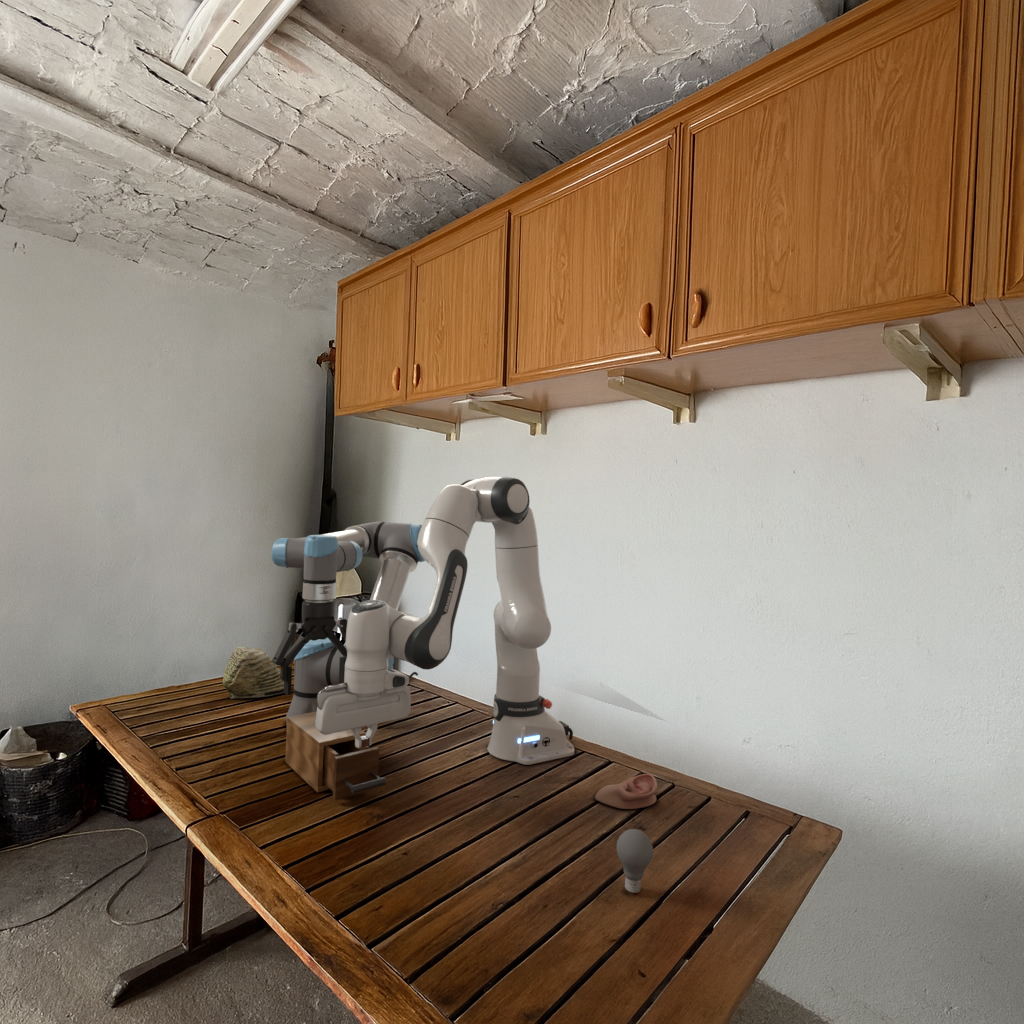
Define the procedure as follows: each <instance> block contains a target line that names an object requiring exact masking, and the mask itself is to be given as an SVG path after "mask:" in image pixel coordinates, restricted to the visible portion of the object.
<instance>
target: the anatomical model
mask: <svg viewBox="0 0 1024 1024" xmlns="http://www.w3.org/2000/svg"><path fill="white" fill-rule="evenodd" d="M657 791H658V782H657V779H656V777H655V776H654V775H653V774H651V773H642V774H639V775H635V776H632V777H630V778H628V779H626V780H624V781H622V782H620V783H616V784H607V785H605V786H602V787H601V788H600V789H599V790H598V791H596V793H595V795H594V798H595V800H596V801H597V802H599V803H602V804H604V805H607V806H610V807H613V808H617V809H621V810H632V809H640V808H646V807H650V806H652V805H654V804H655V803H656V802H657V796H656V792H657Z"/></svg>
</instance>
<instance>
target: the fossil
mask: <svg viewBox="0 0 1024 1024" xmlns="http://www.w3.org/2000/svg"><path fill="white" fill-rule="evenodd" d="M272 660H273V658H271V657H270V656H269V655H268V654H267V653H266V652H265V650H264V649H263V648H260V647H258V648H251V647H247V646H246V647H245V646H238V647H237V648H236V649H235V650H233V651H232V653H231V656H230V657H229V659H228V660H227V663H226V666H225V668H224V671H223V675H222V676H223V677H222V685H223V687H224V688H225V690H226V691H228V693H229V698H230V699H250V698H264V697H271V696H275V695H281V694H284V681H283V680H281V678H280V669H279V668H278V667H277V665H276V664H274V663H273V662H272Z"/></svg>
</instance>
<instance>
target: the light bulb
mask: <svg viewBox="0 0 1024 1024" xmlns="http://www.w3.org/2000/svg"><path fill="white" fill-rule="evenodd" d="M615 849H616V854H617V857H618V859H619V861H620V863H621V865H622V867H623V873H624V874H623V875H624V876H625V878H624V888H625V890H627V891H628V892H630V893H634V894H635V893H639V892H640V891H641V889H642V887H641V886H642V879H643V877H644V875H645V871H646V868H647V867H648V866H649V864H650V863H651V861H652V859H653V855H654V847H653V843H652V841H651V838H649V836H648V835H647V834H646V833H645V832H643V831H642V830H641V829H636V828H629V829H627V830H625V831H623V832H622V833H621V834H620V835H619V837H618V839H617V841H616V847H615Z"/></svg>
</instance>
